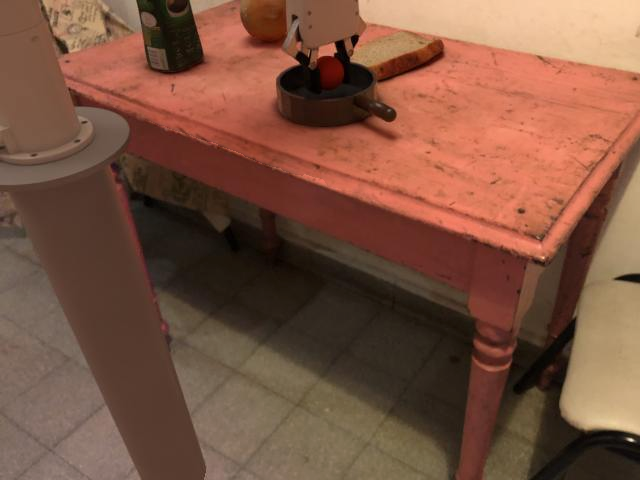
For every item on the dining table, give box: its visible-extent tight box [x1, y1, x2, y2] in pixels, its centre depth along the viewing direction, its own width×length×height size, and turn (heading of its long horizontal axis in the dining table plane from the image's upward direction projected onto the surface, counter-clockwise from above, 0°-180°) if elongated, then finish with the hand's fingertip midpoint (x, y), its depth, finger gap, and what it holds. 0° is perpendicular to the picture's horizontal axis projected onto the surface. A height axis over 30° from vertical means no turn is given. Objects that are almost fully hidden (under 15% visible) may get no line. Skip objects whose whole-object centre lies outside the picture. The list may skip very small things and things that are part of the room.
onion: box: [239, 0, 287, 43], centre depth 110 cm, size 10×10×10 cm
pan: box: [275, 62, 379, 127], centre depth 90 cm, size 15×15×4 cm
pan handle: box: [354, 94, 398, 123], centre depth 83 cm, size 2×8×2 cm, turn 40°
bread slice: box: [350, 29, 445, 81], centre depth 102 cm, size 18×18×4 cm
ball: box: [316, 55, 344, 91], centre depth 88 cm, size 5×5×5 cm
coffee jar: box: [135, 0, 205, 73], centre depth 99 cm, size 10×8×19 cm
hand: (328, 85), depth 89 cm, fingers closed on ball, 4 cm apart
